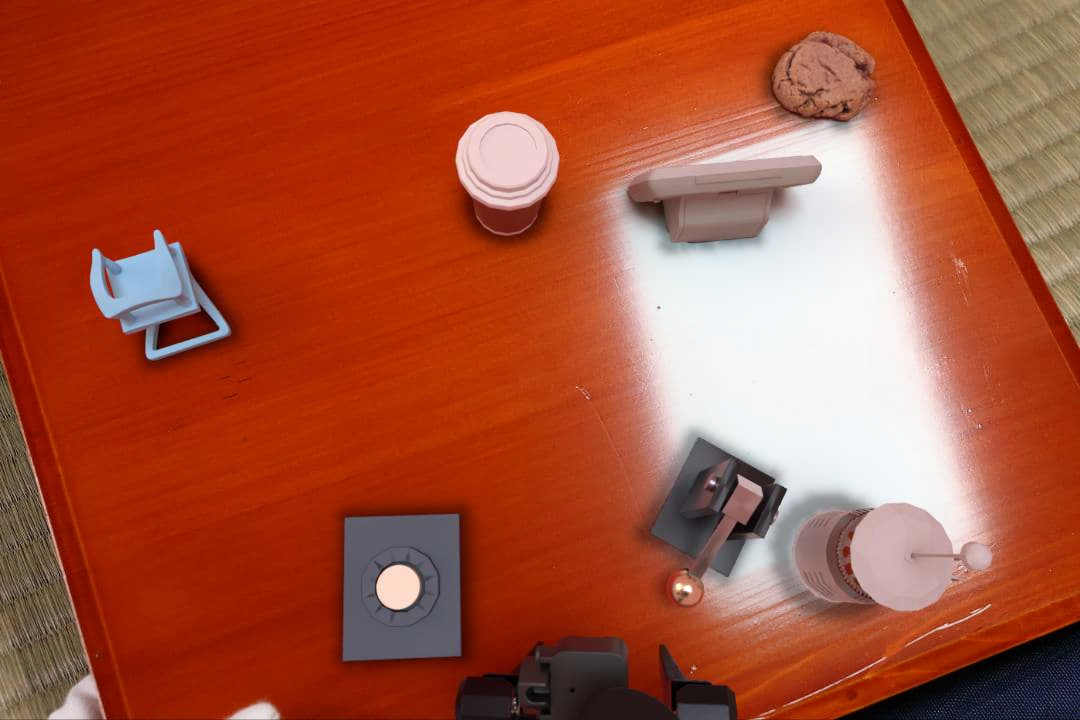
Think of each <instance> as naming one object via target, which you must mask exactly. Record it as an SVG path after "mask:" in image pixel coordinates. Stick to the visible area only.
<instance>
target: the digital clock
mask: <svg viewBox="0 0 1080 720" xmlns="http://www.w3.org/2000/svg"><path fill="white" fill-rule="evenodd" d="M822 170H823V164H822V163H821V161H819V159H817V157H815V155H812V154H810V155H808V154H807V155H792V156H784V157H783V156H781V157H770V158H758V159H747V160H735V161H734V160H733V161H723V162H713V163H712V162H711V163H702V164H690V165H679V166H668V167H667V166H666V167H659V168H654V169H651V170H648V171H645V172H643V173H641V174H638V175H636V176H634V177H633V178H632V180H631V181H630V183H628V184H629V185H628V186H627V191H628V194H629V196H630V197H631V199H632V200H633V201H635V202H636V203H644V202H653V203H655V204H656V203H661V201H662V204H663V210H664V217H665V223H666V229H667V233H668V234H669V239H670V243H672V244H675V243H676V244H677V243H684V242H685V243H688V244H690V243H700V242H712V241H722V240H732V239H733V240H734V239H743V238H753V237H754V238H755V237H758V235H759V234H760V233H761V231H762V230H763V229H764V228H765V227H766V226H767V225H768V223H769V220H770V217H771V214H770V213H771V204H772V199H773V194H774V191H777V190H778V191H779V190H784V189H788V188H794V187H800V186H801V187H802V186H806V185H810V184H814V183H815V182H816V181H817V180H818V179H819V177H820V175H821V173H822Z"/></svg>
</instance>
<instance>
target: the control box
mask: <svg viewBox="0 0 1080 720" xmlns="http://www.w3.org/2000/svg"><path fill="white" fill-rule="evenodd" d="M343 538H344V542H343V545H344V546H343V601H342V603H343V607H342V609H343V610H342V611H343V612H342V662H356V661H357V662H358V661H383V660H384V661H385V660H405V659H407V660H408V659H432V658H453V657H454V658H455V657H461V656H462V654H463V635H462V631H463V627H462V626H463V625H462V623H463V622H462V560H461V514H460V513H432V514H431V513H430V514H405V515H373V516H372V515H371V516H345V517H344V537H343ZM394 565H407V566H410V567H412V568H413V569H414V570H415V571H416V572H417V573H418V574H419V576H420V579H421V583H422V589H421V593H420V595H419V597H418V599H417V600H416V601H415V602H414V603H413V604H412V605H410V606H409V607H407V608H404V609H399V610H395V609H391V608H388V607H387V606H385V605H384V604H383V603H382V602H381V601H380V599H379V597H378V595H377V589H376V587H377V581H378V579H379V577H380V575H381V574H382V572H383V571H384V570H386V569H387V568H389V567H391V566H394Z"/></svg>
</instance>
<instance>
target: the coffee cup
mask: <svg viewBox="0 0 1080 720" xmlns="http://www.w3.org/2000/svg"><path fill="white" fill-rule="evenodd" d="M560 159H561V158H560V154H559V150H558V146H557V142H556V139H555V138H554V137H553V135H552V134H551V133H550V132H549V131H548V129H547V128H546V127H545V125H544V124H543V123H541V122H540V121H538V120H536V119H534V118H532V117H531V116H530V115H528V114H526V113H518V112H514V111H507V110H505V111H500V112H494V113H490V114H486V115H484V116H483V117H482V118H480V119H478V120H477V121H475V122H473V123H472V124H469V126H468V128H467V129H466V131H465V132H464V133H463V135H462V136H461V137H460V139H459V141H458V143H457V150H456V154H455V161H454V162H455V166H456V170H457V175H458V180H459V182H460V184H461V185H462V186H463V187H464V189H465V190H466V192H467V193H468V194H469V196H470V197H471V200H472V203H473V208H474V212H475V216H476V218H477V220H478V221H479V223H480V224H481V225H482V226H483V228H485V229H486V230H487V231H490V232H491V233H493V234H495V235H501V236H506V237H509V236H513V235H517V234H521V233H523V232H525V231H526V230H527V229H529V228H530V227H532V225H533V223H534V222H535V220H536V219H537V218H538V215H539V210H540V208H541V205H542V201H543V199H544V197H546V196H547V194H548V193H549V191H550V190H551V188H552V187H553V186H554V184H555V183H556V181H557V178H558V171H559V166H560Z"/></svg>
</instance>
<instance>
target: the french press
mask: <svg viewBox="0 0 1080 720" xmlns="http://www.w3.org/2000/svg"><path fill="white" fill-rule="evenodd" d="M796 530H797V531H796V533H795V536H794V540H793V542H792V546H791V552H792V566H793V568H794V570H795V572H796V574H797V576H798V578H799V580H800V582H801V584H802V585H803V586H804V587H805V588H806V589H807V590H808V591H810V593H812V594H813V595H814V596H815V597H817V598H820V599H822V600H825V601H828V602H830V603H853V604H860V605H881V606H883V607H886V608H890V609H891V610H894V611H896V612H912V611H913V612H915V611H916V612H917V611H921V610H922V609H924V608H926V607H929V606H931V605H933V604H935V603H937V601H938V600H939V599H940V598H941V596H942V595H943V594H944V593H945V591H947V589H948V588H949V586H950V585H951V582H960V581H962V579H961V577H960V576H958V575H954V574H953V573H954V569H955V562H960V561H961V563H962V564H963V567H965V568H966V569H968V570H970V571H985V570H986V569H988V568H989V567H991V565H992V561H993V556H994V555H993V553H992V551H991V550H990V548H989V546H988V545H986V544H984V543H982V542H980V541H977V540H974V541H969V542H966V543H964V544H963V546H962V547H961V549H960V552H959V553H954V548H953V543H952V542H951V539H950V538H949V536H948V534H947V532H946V530H945V527H944V526H943V525H942V523H941V522H940V521H939V520H937V519H936V518H935V517H934V516H933V515H932V514H930V512H929V511H927V510H926V509H923V508H921V507H918V506H916V505H914V504H911V503H908V502H886V503H883V504H882V505H880V506H878V507H876V508H875V507H865V508H858V509H856V508H855V509H849V510H822V511H821V512H820V511H819V512H818V513H816V514H814V515H811V516H809V517H808V518H807V519H806V520H805V521H804V522H803V523H802V524H801V526H800V527H799V528H798V529H796Z"/></svg>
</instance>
